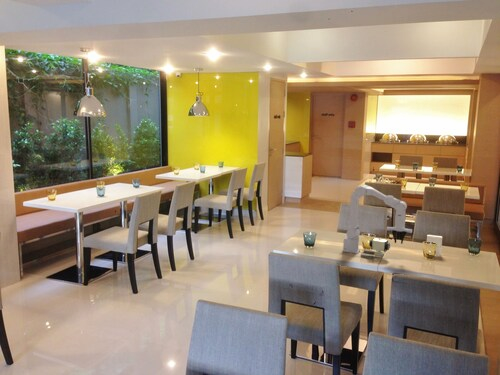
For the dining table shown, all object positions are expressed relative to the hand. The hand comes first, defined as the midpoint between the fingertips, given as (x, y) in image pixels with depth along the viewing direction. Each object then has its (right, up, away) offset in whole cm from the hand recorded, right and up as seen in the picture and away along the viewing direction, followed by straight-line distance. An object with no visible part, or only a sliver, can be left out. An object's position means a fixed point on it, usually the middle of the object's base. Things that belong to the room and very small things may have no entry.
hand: (398, 243), depth 275 cm
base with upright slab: (+27, -9, +13) cm, 31 cm away
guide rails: (-16, -9, +9) cm, 20 cm away
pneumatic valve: (-10, -10, +6) cm, 15 cm away
